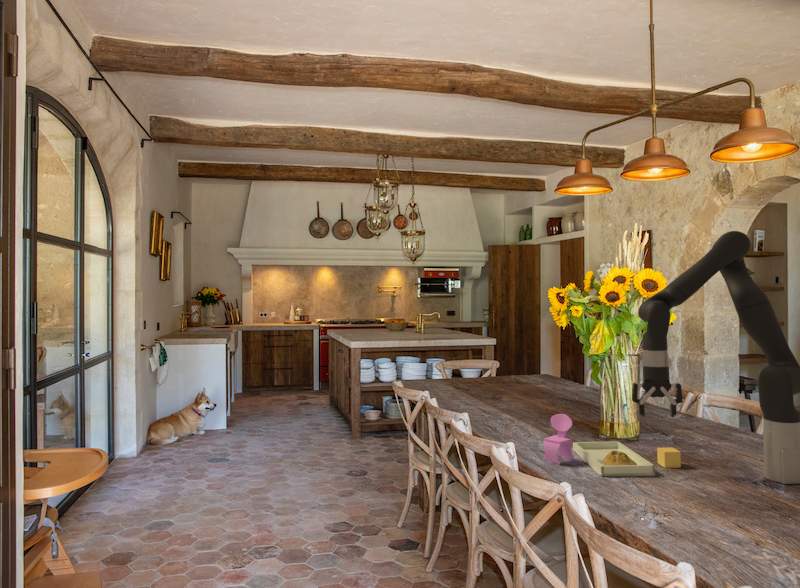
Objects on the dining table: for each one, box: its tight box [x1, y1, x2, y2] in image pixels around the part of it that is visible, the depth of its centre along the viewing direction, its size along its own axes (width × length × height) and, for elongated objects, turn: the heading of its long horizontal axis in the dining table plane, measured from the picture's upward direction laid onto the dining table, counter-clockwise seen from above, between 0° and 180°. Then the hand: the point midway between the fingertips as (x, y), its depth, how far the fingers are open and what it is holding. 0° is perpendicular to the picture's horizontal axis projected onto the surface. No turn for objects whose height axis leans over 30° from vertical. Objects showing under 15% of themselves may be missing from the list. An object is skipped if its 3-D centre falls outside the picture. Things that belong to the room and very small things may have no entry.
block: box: [656, 447, 682, 469], centre depth 178 cm, size 5×5×5 cm
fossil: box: [603, 451, 637, 466], centre depth 175 cm, size 11×6×10 cm
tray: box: [572, 440, 656, 477], centre depth 182 cm, size 28×16×3 cm, turn 0°
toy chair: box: [542, 413, 575, 465], centre depth 185 cm, size 8×9×15 cm
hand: (657, 416), depth 175 cm, fingers open, 8 cm apart
